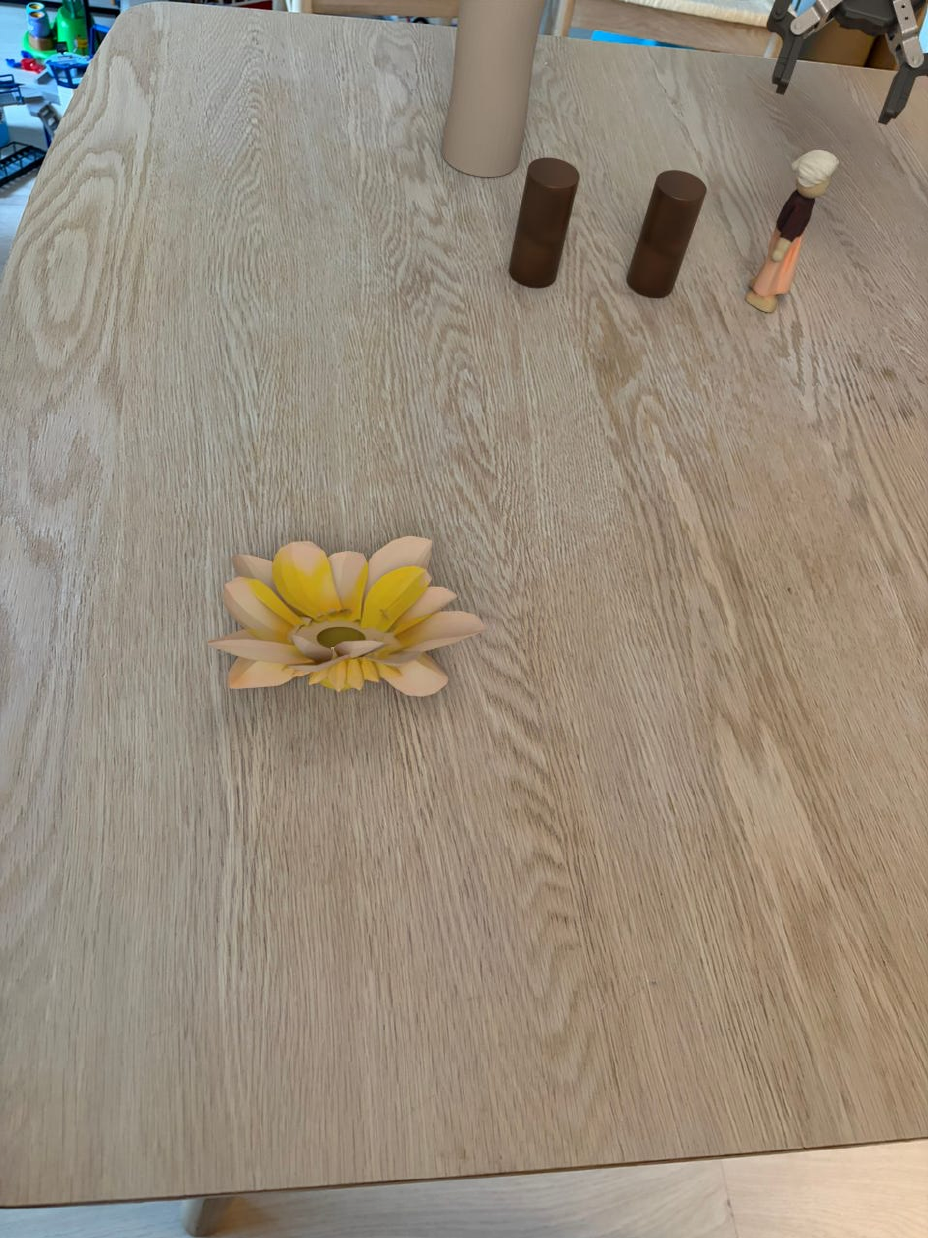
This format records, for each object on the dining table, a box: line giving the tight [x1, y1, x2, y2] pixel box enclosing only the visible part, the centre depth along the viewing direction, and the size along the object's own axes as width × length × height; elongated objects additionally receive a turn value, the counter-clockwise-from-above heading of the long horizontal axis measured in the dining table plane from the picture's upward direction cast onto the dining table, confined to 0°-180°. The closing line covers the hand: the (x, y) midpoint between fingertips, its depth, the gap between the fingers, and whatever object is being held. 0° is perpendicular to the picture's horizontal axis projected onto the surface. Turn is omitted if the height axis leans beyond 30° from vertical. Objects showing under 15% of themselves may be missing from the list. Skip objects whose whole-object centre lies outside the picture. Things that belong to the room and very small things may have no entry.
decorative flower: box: [203, 535, 487, 698], centre depth 58 cm, size 15×11×10 cm
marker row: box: [508, 157, 708, 299], centre depth 82 cm, size 14×4×9 cm, turn 92°
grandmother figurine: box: [744, 149, 840, 313], centre depth 82 cm, size 8×4×13 cm, turn 171°
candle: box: [440, 0, 547, 178], centre depth 88 cm, size 7×14×20 cm, turn 172°
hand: (832, 105), depth 82 cm, fingers open, 8 cm apart
